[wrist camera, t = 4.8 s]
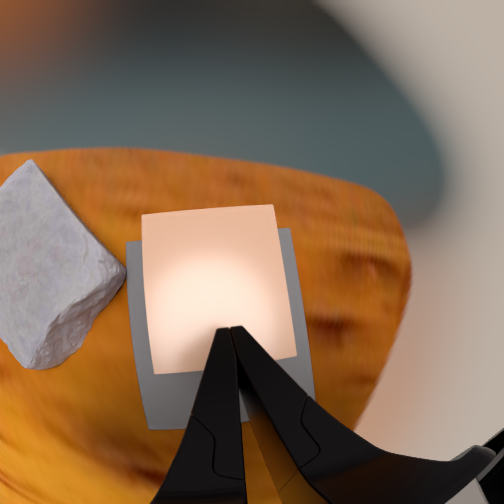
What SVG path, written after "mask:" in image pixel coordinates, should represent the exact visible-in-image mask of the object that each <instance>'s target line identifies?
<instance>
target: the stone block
mask: <svg viewBox="0 0 504 504" xmlns="http://www.w3.org/2000/svg"><path fill="white" fill-rule="evenodd" d="M125 278H126V269H125V267H124V266H123V265H122V264H121V263H120V262H119V261H118V260H117V259H116V257H115V256H114V255H113V254H112V253H111V252H110V251H109V250H108V249H107V248H106V247H105V246H104V245H103V244H102V243H101V242H100V241H99V239H98V238H97V237H96V236H95V235H94V234H93V232H92V231H91V230H90V229H89V228H88V227H87V226H86V225H85V223H84V222H83V221H82V220H81V219H80V218H79V216H78V215H77V214H76V213H75V212H74V211H73V209H72V208H71V207H70V206H69V205H68V203H67V202H66V201H65V200H64V198H63V197H62V196H61V195H60V193H59V192H58V191H57V189H56V188H55V187H54V185H53V184H52V183H51V181H50V180H49V179H48V177H47V176H46V175H45V174H44V172H43V171H42V170H41V169H40V168H39V166H38V165H37V164H36V163H35V162H34V161H33V160H32V159H31V160H27V161H26V162H25V163H24V164H23V165H22V166H21V167H19V168H18V169H17V170H16V171H15V172H14V173H13V174H12V175H11V176H10V177H9V178H8V179H7V180H6V181H5V183H4V184H3V185H2V186H1V187H0V337H1V339H2V340H3V341H4V342H5V343H6V344H7V345H8V348H9V350H10V351H11V353H12V354H13V355H14V356H15V358H16V359H17V360H18V361H19V362H20V363H21V365H22V366H23V367H24V368H28V369H36V370H42V369H49V368H52V367H55V366H56V365H60V364H61V363H63V362H64V361H65V359H66V358H68V357H69V356H70V355H71V354H73V353H75V352H76V351H77V349H79V348H80V347H81V346H82V343H83V341H84V339H85V337H86V335H87V333H88V331H89V330H91V327H92V324H93V320H94V319H95V318H96V316H97V315H98V314H99V312H100V311H102V310H103V309H104V308H105V306H107V305H108V303H109V302H110V300H111V299H112V298H113V297H114V295H115V294H116V292H117V291H118V289H119V288H120V287H121V286H122V285H123V282H124V280H125Z"/></svg>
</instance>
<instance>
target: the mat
mask: <svg viewBox="0 0 504 504" xmlns="http://www.w3.org/2000/svg"><path fill="white" fill-rule="evenodd" d="M278 235H279V241H280V247H281V253H282V259H283V265H284V271H285V277H286V284H287V290H288V297H289V303H290V310H291V317H292V323H293V330H294V337H295V344H296V352H297V356H294V357H289V358H284V359H279V360H275V361H276V362H277V363H278V364H279V365H280V366H281V367H282V368H283V369H284V370H285V371H286V372H287V373H288V374H289V375H290V376H291V377H292V378H293V379H294V380H295V382H296V383H297V384H298V385H299V386H300V387H301V388H302V389H303V390H304V391H305V392H306V393H307V394H308V395H309V396H311V397H312V398H313V399H314V400H315V391H314V382H313V374H312V366H311V358H310V351H309V343H308V336H307V329H306V322H305V315H304V309H303V302H302V296H301V290H300V283H299V277H298V271H297V266H296V260H295V254H294V248H293V243H292V237H291V232H290V228H281V229H278ZM126 270H127V290H128V304H129V316H130V326H131V335H132V343H133V350H134V357H135V364H136V370H137V376H138V382H139V387H140V393H141V398H142V402H143V407H144V412H145V416H146V420H147V425H148V429H149V430H169V429H186V427H187V423H188V420H189V417H190V415H191V410H192V407H193V404H194V400H195V397H196V394H197V390H198V387H199V384H200V380H201V377H202V374H203V371H192V372H180V373H166V374H154V369H153V362H152V356H151V349H150V341H149V333H148V325H147V315H146V305H145V292H144V278H143V257H142V241H132V242H126ZM239 399H240V414H241V422H247V421H250V420H249V418H248V415H247V412H246V409H245V406H244V404H243V401H242V398H241V395H240V392H239ZM315 401H316V400H315Z"/></svg>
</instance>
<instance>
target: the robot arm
mask: <svg viewBox="0 0 504 504" xmlns="http://www.w3.org/2000/svg"><path fill="white" fill-rule="evenodd" d="M239 392H240V395H241V398H242V401H243V404H244V406H245V409H246V412H247V415H248V418H249V420H250V423H251V426H252V429H253V431H254V434H255V437H256V439H257V442H258V445H259V447H260V450H261V452H262V455H263V457H264V460H265V462H266V465H267V467H268V470H269V472H270V475H271V477H272V480H273V482H274V485H275V487H276V489H277V492H278V494H279V496H280V499H281V501H282V503H283V504H504V428H503V429H502V430H500V431H499V432H498V433H497V434H495V435H494V436H493V437H492V438H490V439H489V440H488V441H487V442H486V443H485V444H483V445H482V446H478V445H474V446H472V447H470V448H468V449H467V450H465V451H464V452H462V453H461V454H460V455H458V456H456V457H455V458H453V459H452V460H450V461H436V460H429V459H422V458H416V457H410V456H405V455H399V454H394V453H391V452H387V451H384V450H382V449H380V448H378V447H376V446H374V445H372V444H371V443H369V442H368V441H366V440H365V439H363V438H362V437H360V436H359V435H358V434H356V433H355V432H353V431H352V430H350V429H349V428H347V427H346V426H345V425H343V424H342V423H341V422H339V421H338V420H337V419H335V418H334V417H333V416H331V415H330V414H329V413H328V412H327V411H326V410H324V409H323V408H322V407H321V406H320V405H319V404H318V403H317V402H316V401H315V400H314V399H313V398H312V397H311V396H309V395H308V394H307V393H306V392H305V391H304V390H303V389H302V388H301V387H300V386H299V385H298V384H297V383H296V382H295V380H294V379H293V378H292V377H291V376H290V375H289V374H288V373H287V372H286V371H285V370H284V369H283V368H282V367H281V366H280V365H279V364H278V363H277V362H276V361H275V360H274V359H273V358H272V357H271V356H270V355H269V354H268V352H267V351H266V350H265V349H264V348H263V347H262V346H261V345H260V344H259V343H258V342H257V341H256V340H255V338H254V337H253V336H252V335H251V334H250V333H249V332H248V331H247V330H246V329H245V328H244V327H243V326H242V325H239V326H231V327H230V328H229V327H222V328H217V329H216V331H215V335H214V338H213V341H212V344H211V348H210V351H209V354H208V357H207V361H206V364H205V367H204V370H203V374H202V377H201V380H200V384H199V387H198V390H197V394H196V397H195V400H194V404H193V407H192V410H191V415H190V417H189V420H188V423H187V427H186V429H185V432H184V435H183V438H182V441H181V443H180V446H179V448H178V450H177V453H176V455H175V457H174V459H173V461H172V464H171V466H170V468H169V470H168V472H167V474H166V476H165V478H164V480H163V482H162V484H161V486H160V488H159V490H158V492H157V494H156V495H155V497H154V498H153V500H152V501H151V503H150V504H248V502H247V492H246V482H245V468H244V456H243V443H242V429H241V414H240V399H239Z"/></svg>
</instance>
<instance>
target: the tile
mask: <svg viewBox="0 0 504 504" xmlns="http://www.w3.org/2000/svg"><path fill="white" fill-rule="evenodd" d="M142 257H143V278H144V292H145V305H146V315H147V325H148V333H149V341H150V349H151V356H152V362H153V369H154V374H166V373H180V372H192V371H203V370H204V367H205V364H206V361H207V357H208V354H209V351H210V348H211V344H212V341H213V338H214V335H215V331H216V329H217V328H222V327H229V328H230V327H231V326H239V325H242V326H243V327H244V328H245V329H246V330H247V331H248V332H249V333H250V334H251V335H252V336H253V337H254V338H255V340H256V341H257V342H258V343H259V344H260V345H261V346H262V347H263V348H264V349H265V350H266V351H267V352H268V354H269V355H270V356H271V357H272V358H273V359H274V360H279V359H284V358H289V357H294V356H297V352H296V344H295V337H294V330H293V323H292V317H291V310H290V303H289V297H288V290H287V284H286V277H285V271H284V265H283V259H282V253H281V247H280V241H279V235H278V229H277V224H276V218H275V212H274V207H273V204H272V205H254V206H237V207H223V208H210V209H197V210H186V211H175V212H165V213H155V214H146V215H142Z"/></svg>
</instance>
